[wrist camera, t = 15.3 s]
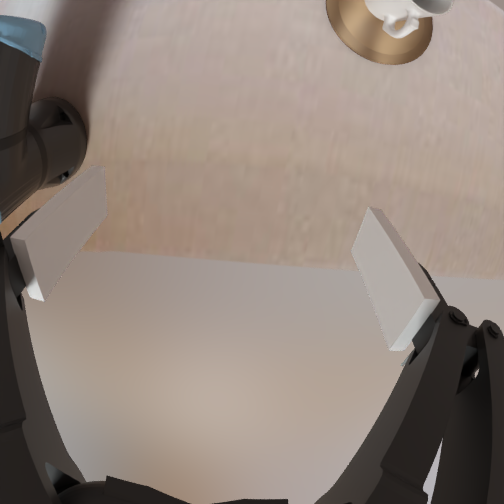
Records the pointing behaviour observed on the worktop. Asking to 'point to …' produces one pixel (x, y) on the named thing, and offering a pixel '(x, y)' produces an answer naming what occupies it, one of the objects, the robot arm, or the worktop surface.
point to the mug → (406, 13)
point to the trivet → (376, 33)
